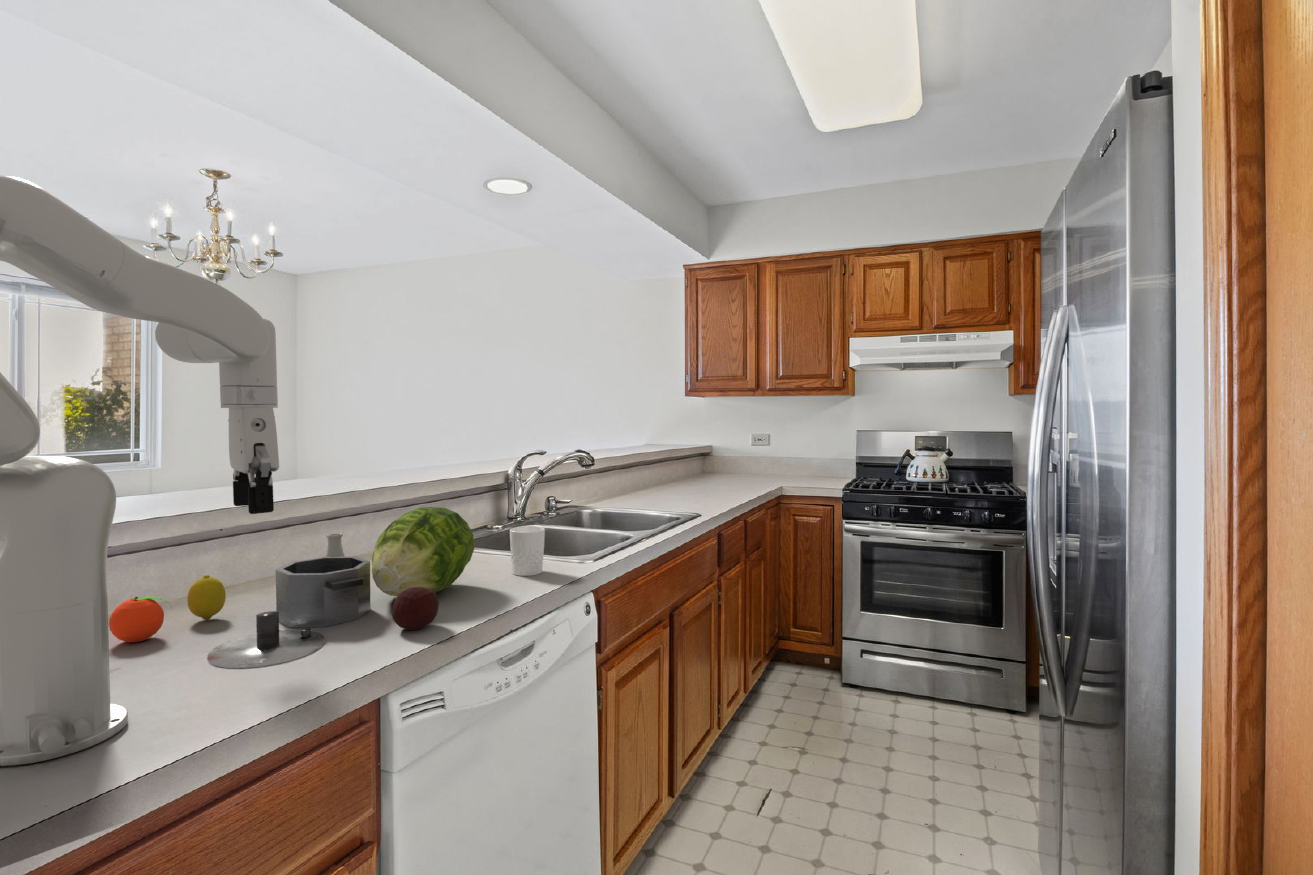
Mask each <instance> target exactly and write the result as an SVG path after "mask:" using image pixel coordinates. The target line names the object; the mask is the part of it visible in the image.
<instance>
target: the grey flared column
mask: <svg viewBox="0 0 1313 875" xmlns="http://www.w3.org/2000/svg"><path fill="white" fill-rule="evenodd" d="M342 537H343V533H342V532H334V533H328V534H326V539H327V546H326V547H327V548H326V552H325V555H324V557H346V555H345V553H344V549H343V546H342V545H343V544H342Z"/></svg>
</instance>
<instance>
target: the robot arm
mask: <svg viewBox="0 0 1313 875" xmlns="http://www.w3.org/2000/svg"><path fill="white" fill-rule="evenodd" d="M0 261H1V262H4V263H8V264H10V265H12V266H14V267H16V268H18V269H19V270H21V271H23V272H25V273H27V274H28V275H30V276H33V277H34V278H36V279H38V280H40V281H41V282H44V283H45V284H46V285H47V284H48V285H49V286H51V287H53V288H55V289H56V290H58V291H60V292H62V293H64V294H65V295H67V296H68V297H70V298H72V299H74V300H76V301H78V302H80V303H81V304H83V305H85V306H87V307H88V308H91V309H93V310H96V311H98V312H103V313H106V314H110V315H114V316H120V317H123V318H127V319H132V320H133V319H134V320H139V321H147V322H152V323H153V322H155V323H157V325H156V327H155V332H154V334H155V341H156V343H157V346H158V347H159V349H160V350H161V351H162V352H163V353H164V354H165V355H167V356H168V357H170V358H172V359H173V360H176V361H179V362H183V363H188V364H189V363H190V364H214V363H215V364H216V363H217V364H218V370H219V374H218V375H219V393H220V394H219V399H220V400H219V401H220V403H219V404H220V408H221V409H228V419H227V420H228V455H229V456H228V457H229V464H230V466H231V468H232V469H233V474H232V478H233V481H232V497H233V499H232V500H233V501H232V502H233V505H234V507H242V506H243V507H244V506H248V513H249V514H250V515H256V514H267V513H273V512H274V509H275V508H274V506H275V505H274V485H273V484H274V482H273V476H272V475H273V473H274V472H277V471H278V470H279V469H280V459H279V458H280V457H279V455H280V454H279V445H278V444H279V442H278V435H277V434H278V432H277V431H278V430H277V423H276V418H275V417H276V416H275V412H274V409H275V408H276V409H277V408H279V404H278V402H279V401H278V375H277V374H278V371H277V367H278V366H277V338H276V328H275V325H274V323H273V322H272V321H270V320H269V319H266V318H263V317H262V316H261V314H260V313H259V312H258V311H257V310H256V309H255V308H254V307H252V306H251V305H250V304H248V303H247V302H246V301H245V300H243V299H242V298H240V297H239V296H237V295H236V294H235V293H233V292H232V291H231V290H229V289H228V288H226V287H223V286H222V285H219V284H218V283H216V282H213V280H212V281H211V280H209V279H207V278H204V277H202V276H199V275H197V274H196V273H195V274H194V273H192V272H189V271H186V270H183V269H181V268H178V267H176V266H174V265H171V264H169V263H167V262H165V261H161V260H158V259H155V258H153V257H149V256H147V255H144V254H141V253H140V252H138V251H136V250H135V249H133V248H131V247H130V246H129V245H128V244H126V243H124V242H123V241H121V240H120V239H118V238H117V237H115V236H114V235H113V234H111V233H109V232H108V231H106V230H105V229H104V228H102V227H100V226H99V225H98V224H96V223H94V221H91V220H90V219H89V218H87V217H86V216H85V215H83V214H82V213H80V212H79V211H77V210H76V209H74V208H73V207H71V206H69V205H68V204H66V203H65V202H63V201H62V200H61V199H59V198H58V197H56V196H55V195H53V194H52V193H51V192H49V191H47V190H46V189H45V188H43V187H41V186H40V185H37V184H35V183H33V182H31V181H29V180H26V179H23V178H20V177H18V176H10V175H0ZM40 427H41V426H40V423H39V420H38V418H37V416H36V414H35V412H34V411H33V409H32V408H31V406H30V405H29V403H28V402H27V401H26V399H24V397H23V396H22V395H21V394H20V393H19V392H18V391H17V389H16V388H15V387H14V386H13V385H12V384H11V382H10V381H9V380H8V379H7V378H6V377H5V376H4V375H3V374H2V372H1V371H0V542H6V545H5V548H4V549H3V552H2V554H1V556H0V767H8V766H9V767H10V766H21V765H22V766H23V765H29V764H34V763H38V762H45V761H49V760H53V759H56V758H61V757H64V756H67V755H71V754H74V753H77V752H80V751H82V750H86V749H88V748H91V747H93V746H95V745H98V744H100V743H102V742H105V741H106V740H108V739H109V738H111V737H113V736H114V735H115V734H117V733H119V732H120V731H121V730H123V728H125V727H126V725H127V724H128V721H129V720H128V719H129V718H128V717H129V713H128V709H127V708H125V707H124V706H122V705H119V704H116V703H111V682H110V678H111V676H110V675H111V674H110V648H109V647H110V645H109V644H110V641H109V638H110V637H109V636H110V635H109V614H108V613H109V608H108V605H109V604H108V601H109V599H108V575H107V574H108V573H107V572H108V569H107V568H108V564H107V563H108V551H109V550H108V548H109V543H110V542H109V540H110V535H111V530H112V526H113V521H114V518H115V513H116V507H117V506H116V505H117V492H116V488H115V485H114V483H113V480H112V479H111V478H110V476H109V475H108V474H107V473H106V472H105V471H104V470H103V469H101V468H100V467H99V466H97V465H95V464H94V463H91V462H89V461H86V460H84V459H80V458H76V457H75V458H74V457H69V456H61V455H29V454H30V453H31V452H32V451H33V450H35V448H36V447H37V444H38V442H39V441H40V437H41V436H40V434H41V428H40Z"/></svg>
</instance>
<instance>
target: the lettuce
mask: <svg viewBox="0 0 1313 875" xmlns="http://www.w3.org/2000/svg"><path fill="white" fill-rule="evenodd" d="M474 539H475V538H474V534H473V532H472V529H471V528H470V526H469V523H468V522H467V521H466V520H465V519H464V518H463V517H462V516H461V515H460V514H459V513H458V512H456V511H453V510H452V509H449V508H447V507H437V506H435V507H434V506H422V507H418V508H416V509H414V510H410V511H409V512H407V513H406V512H405V513H403V515H401V516H400V517H398V518H397V519H395V520H394V521H392V522H391V523H390V524H389V525H388V526H387V527H386V528H385V529H384V530H383V532H381V534H380V535H378V538H377V540H376V541H375V544H374V549H373V551H372V556H371V566H372V567H371V574H372V580H373V581H374V583H375V586H376V587H377V588H378V589H379V590H380V591H381V592H382V593H384V594H386V595H388V596H390V597H397V596H398V595H399V594H400V593H401V592H403V591H404V590H406V589H408V588H412V587H424V588H428V589H431V590H432V591H434V593H435V594H436V593H438V592H440V591H442V590H444V589H446V588H450V587H451V586H452V585H453V584H454V582H455V581H457V579H458V578H459V577H460V576H461V575H462V573H463V572H464V570H465V568H466V566H467V565H468V564H469V563H470V561H471V559H472V556H473V554H474V552H475V551H474V550H475V540H474Z"/></svg>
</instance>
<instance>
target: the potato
mask: <svg viewBox="0 0 1313 875" xmlns="http://www.w3.org/2000/svg"><path fill="white" fill-rule="evenodd" d="M439 605H440V602H439V598H438V595H437V594H436V593H434V591H432V590H431V589H428V588H424V587H412V588H408V589H406V590H404V591H403V592H401V593H400V594H399V595H398V596H395V598H394V603H393V605H392V608H391V609H392V610H391V615H392V620H393V621H394V623H395V624H396V625H397V626H398V627H400V628H401V629H404V630H410V631H415V630H418V629H421V628H424V627H427V626H428V625H429V624H431V623H432V622H434V620H435V618H436V617H437V614H438V612H439Z"/></svg>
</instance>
